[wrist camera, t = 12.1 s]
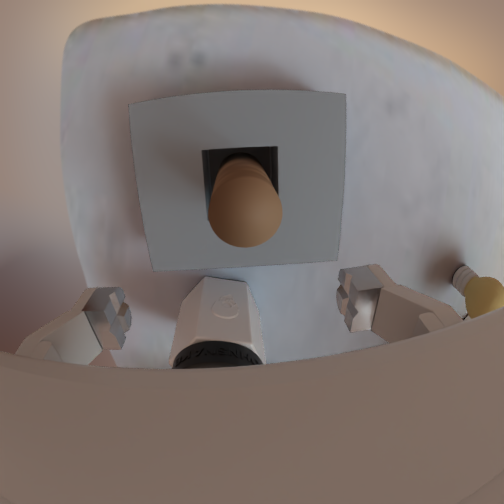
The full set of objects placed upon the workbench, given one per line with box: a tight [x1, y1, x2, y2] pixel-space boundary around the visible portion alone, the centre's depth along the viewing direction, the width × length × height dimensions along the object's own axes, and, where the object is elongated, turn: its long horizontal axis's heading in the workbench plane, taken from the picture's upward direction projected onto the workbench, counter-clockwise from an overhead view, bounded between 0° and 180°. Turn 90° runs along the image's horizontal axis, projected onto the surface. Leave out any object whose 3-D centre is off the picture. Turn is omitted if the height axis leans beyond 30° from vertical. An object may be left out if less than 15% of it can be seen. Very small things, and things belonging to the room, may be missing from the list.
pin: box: [208, 152, 283, 248], centre depth 19 cm, size 4×4×10 cm
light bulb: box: [453, 266, 504, 319], centre depth 28 cm, size 6×6×10 cm
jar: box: [169, 277, 266, 369], centre depth 26 cm, size 9×8×12 cm
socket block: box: [128, 90, 346, 272], centre depth 23 cm, size 16×14×5 cm
